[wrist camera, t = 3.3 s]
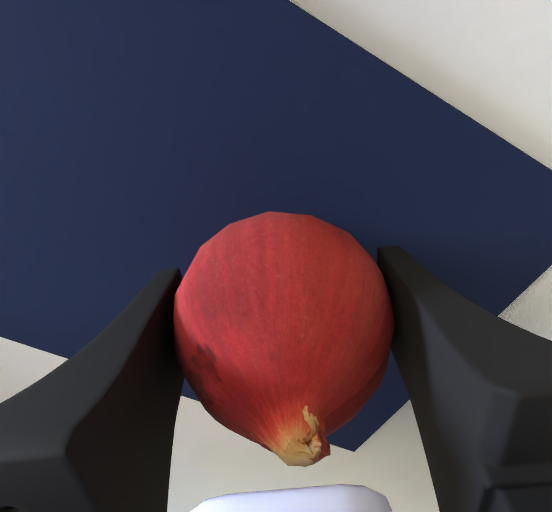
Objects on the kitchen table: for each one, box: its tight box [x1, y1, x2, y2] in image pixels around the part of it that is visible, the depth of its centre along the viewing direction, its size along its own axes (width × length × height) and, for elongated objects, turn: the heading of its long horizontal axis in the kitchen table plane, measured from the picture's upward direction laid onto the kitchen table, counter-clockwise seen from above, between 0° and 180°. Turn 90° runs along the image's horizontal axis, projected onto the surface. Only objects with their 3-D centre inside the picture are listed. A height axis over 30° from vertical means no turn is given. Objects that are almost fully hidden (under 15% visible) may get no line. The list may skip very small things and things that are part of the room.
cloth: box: [0, 0, 552, 452], centre depth 16 cm, size 20×15×1 cm
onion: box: [174, 211, 395, 467], centre depth 12 cm, size 6×6×8 cm
